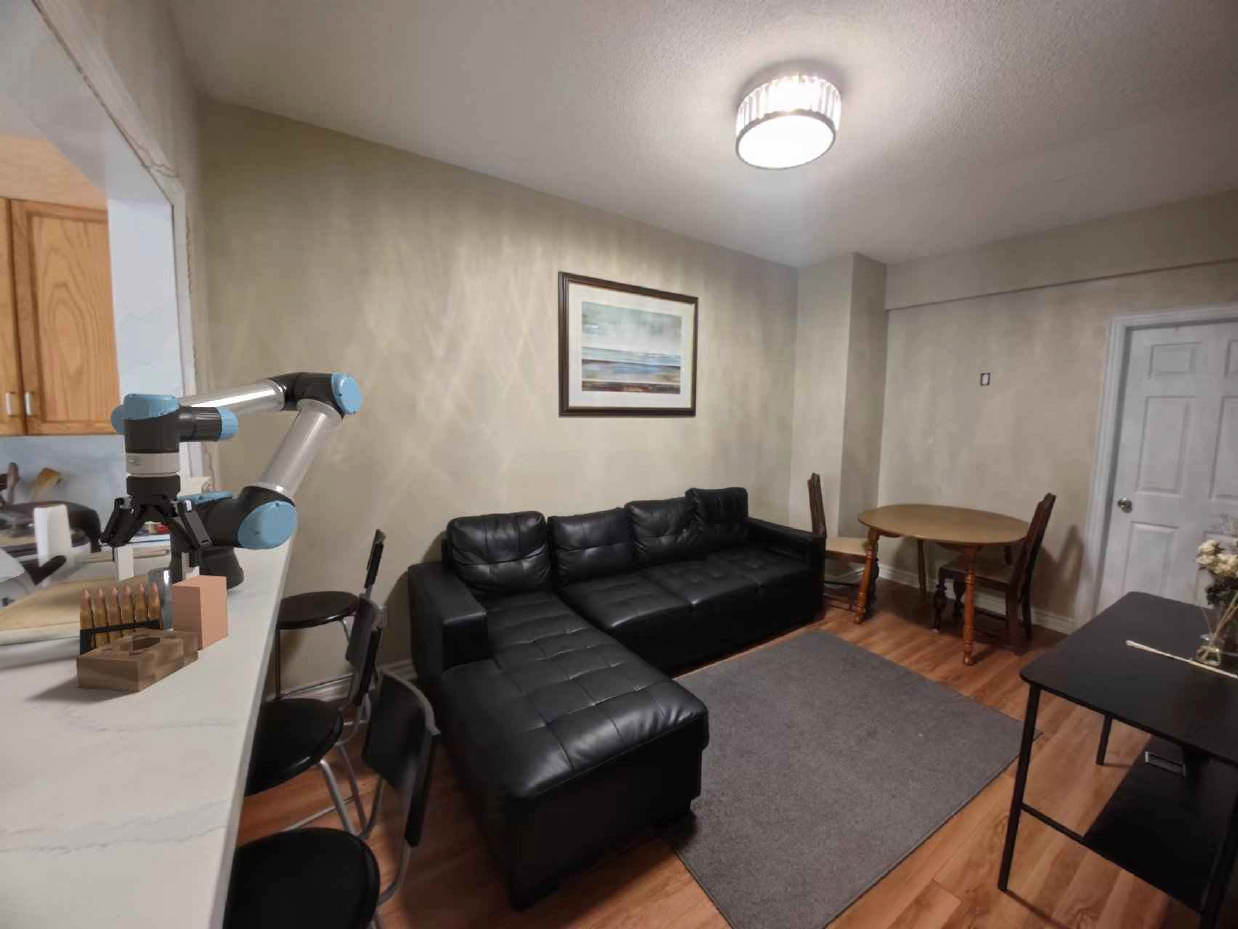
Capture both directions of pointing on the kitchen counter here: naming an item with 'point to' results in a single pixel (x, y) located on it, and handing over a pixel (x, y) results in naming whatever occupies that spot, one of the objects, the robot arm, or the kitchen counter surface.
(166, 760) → the kitchen counter surface
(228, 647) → the kitchen counter surface
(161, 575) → the round peg
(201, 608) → the square peg
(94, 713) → the kitchen counter surface
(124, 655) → the bore block
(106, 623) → the ammunition clip
